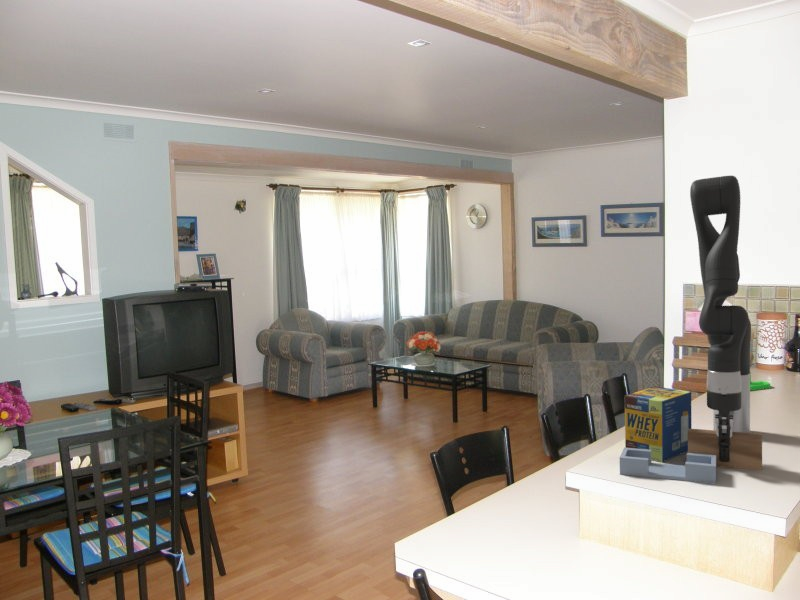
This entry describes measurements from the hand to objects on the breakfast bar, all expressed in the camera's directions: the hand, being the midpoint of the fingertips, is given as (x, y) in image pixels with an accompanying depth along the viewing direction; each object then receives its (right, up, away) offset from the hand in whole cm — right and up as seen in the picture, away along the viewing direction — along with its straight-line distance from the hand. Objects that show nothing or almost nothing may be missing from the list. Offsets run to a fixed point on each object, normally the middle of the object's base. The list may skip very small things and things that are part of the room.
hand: (724, 458), depth 163 cm
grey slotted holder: (-15, -2, -4) cm, 16 cm away
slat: (0, -2, 0) cm, 2 cm away
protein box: (-11, -1, +13) cm, 17 cm away
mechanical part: (+50, +6, +81) cm, 95 cm away
